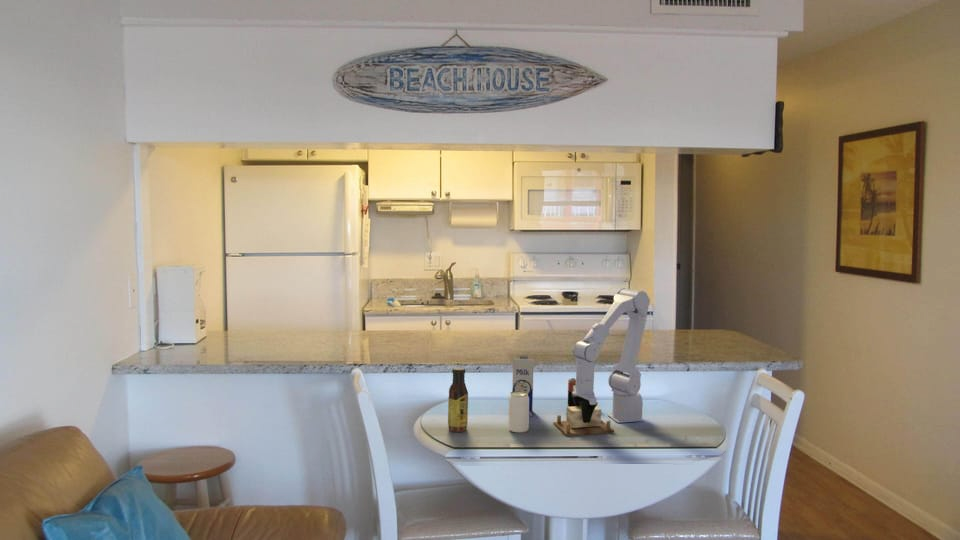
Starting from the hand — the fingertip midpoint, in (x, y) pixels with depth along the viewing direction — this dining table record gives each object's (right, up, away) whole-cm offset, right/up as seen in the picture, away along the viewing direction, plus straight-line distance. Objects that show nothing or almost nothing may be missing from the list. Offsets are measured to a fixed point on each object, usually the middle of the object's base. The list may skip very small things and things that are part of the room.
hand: (583, 419), depth 200 cm
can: (-21, -3, -2) cm, 21 cm away
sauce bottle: (-41, -3, -2) cm, 41 cm away
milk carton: (-19, -1, +14) cm, 24 cm away
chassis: (0, -3, 0) cm, 3 cm away
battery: (+2, -1, +23) cm, 23 cm away
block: (0, -2, 0) cm, 2 cm away
